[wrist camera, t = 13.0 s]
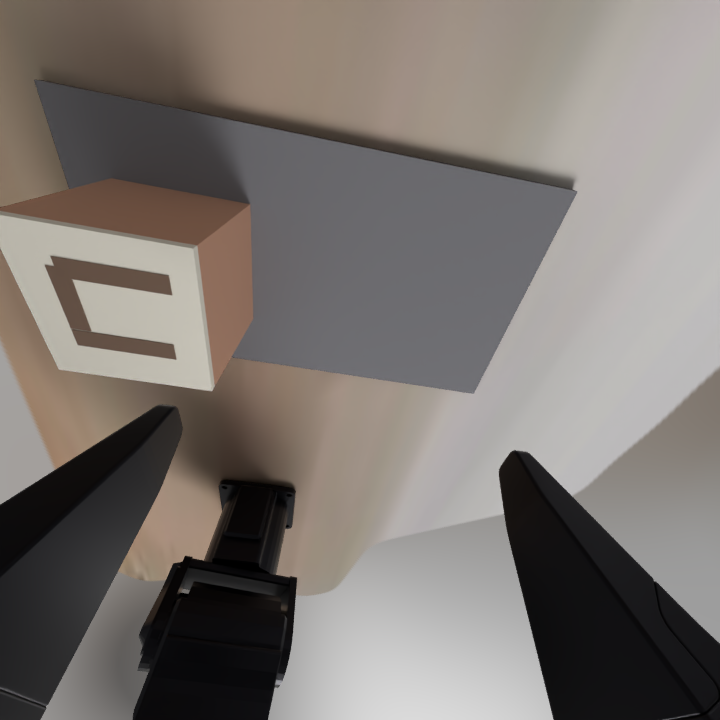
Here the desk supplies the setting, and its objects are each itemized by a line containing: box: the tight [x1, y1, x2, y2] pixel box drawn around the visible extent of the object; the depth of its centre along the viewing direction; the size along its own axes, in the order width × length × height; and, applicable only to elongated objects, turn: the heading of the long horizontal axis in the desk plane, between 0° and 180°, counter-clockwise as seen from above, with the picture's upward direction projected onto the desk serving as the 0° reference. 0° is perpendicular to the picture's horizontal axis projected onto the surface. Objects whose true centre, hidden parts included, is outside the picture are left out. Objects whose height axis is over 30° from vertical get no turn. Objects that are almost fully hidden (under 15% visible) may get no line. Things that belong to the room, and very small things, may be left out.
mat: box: [34, 80, 577, 394], centre depth 17 cm, size 12×22×1 cm, turn 80°
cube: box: [0, 178, 253, 391], centre depth 14 cm, size 6×6×6 cm
